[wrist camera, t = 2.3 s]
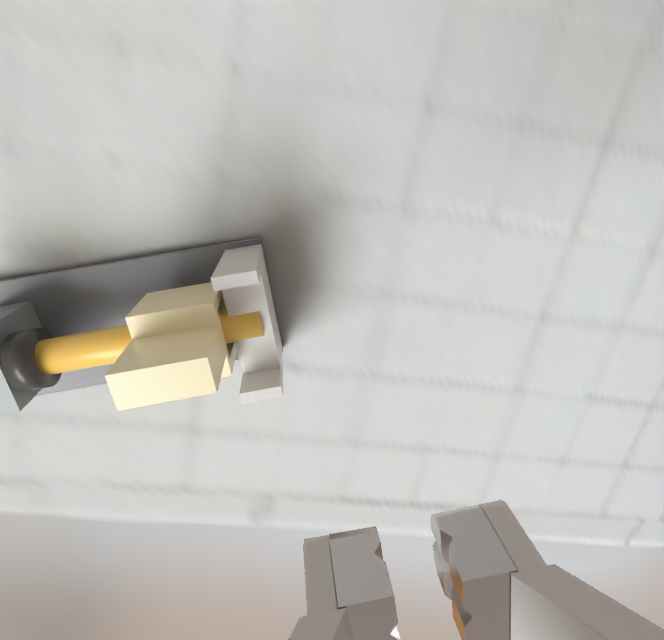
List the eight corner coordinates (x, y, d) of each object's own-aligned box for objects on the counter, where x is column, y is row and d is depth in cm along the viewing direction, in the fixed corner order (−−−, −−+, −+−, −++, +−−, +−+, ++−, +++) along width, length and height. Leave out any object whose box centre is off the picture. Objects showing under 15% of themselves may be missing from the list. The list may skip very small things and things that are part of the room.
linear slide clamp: (260, 236, 26) (254, 263, 20) (282, 347, 28) (284, 402, 22) (-10, 281, 25) (-104, 324, 19) (38, 391, 28) (-31, 460, 21)
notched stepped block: (222, 280, 24) (200, 331, 17) (237, 344, 26) (223, 415, 19) (147, 293, 24) (95, 350, 17) (166, 356, 25) (125, 433, 19)
